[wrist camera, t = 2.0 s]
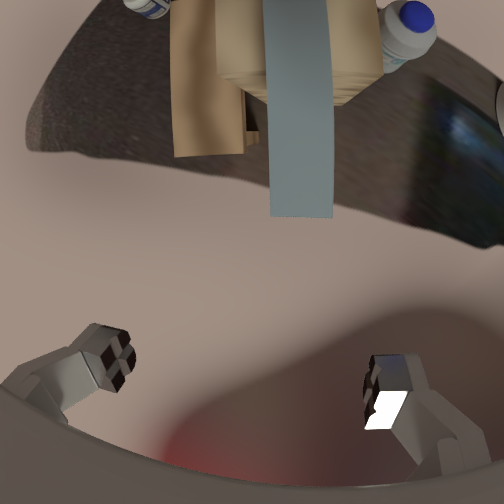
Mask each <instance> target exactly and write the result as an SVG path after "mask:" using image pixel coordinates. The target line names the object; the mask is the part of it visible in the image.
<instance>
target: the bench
mask: <svg viewBox="0 0 504 504" xmlns="http://www.w3.org/2000/svg"><path fill="white" fill-rule="evenodd" d="M170 73H171V103H172V124H173V140H174V154H175V157H184V156H199V155H216V154H240V153H246V152H247V146H248V145H252V144H256V143H259V131H246V111H245V90H243V89H241V88H240V87H238V86H236V85H235V84H233V83H231V82H229V81H228V80H226V79H224V78H222V77H220V76H219V75H217V63H216V24H215V0H177V1H173V2H171V10H170Z"/></svg>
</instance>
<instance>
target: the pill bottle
mask: <svg viewBox="0 0 504 504" xmlns="http://www.w3.org/2000/svg"><path fill="white" fill-rule="evenodd" d="M124 4H125V5H126V6H127V7H128V8H130V9H132V10H134V11H136V12H138V13H140V14H142V15H143V16H145V17H147V18H150V19H155V18H159V17H161V16H163V15H164V14H165V13H166V12H167V11H168V10H169V8H170V5H171V0H124Z"/></svg>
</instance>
